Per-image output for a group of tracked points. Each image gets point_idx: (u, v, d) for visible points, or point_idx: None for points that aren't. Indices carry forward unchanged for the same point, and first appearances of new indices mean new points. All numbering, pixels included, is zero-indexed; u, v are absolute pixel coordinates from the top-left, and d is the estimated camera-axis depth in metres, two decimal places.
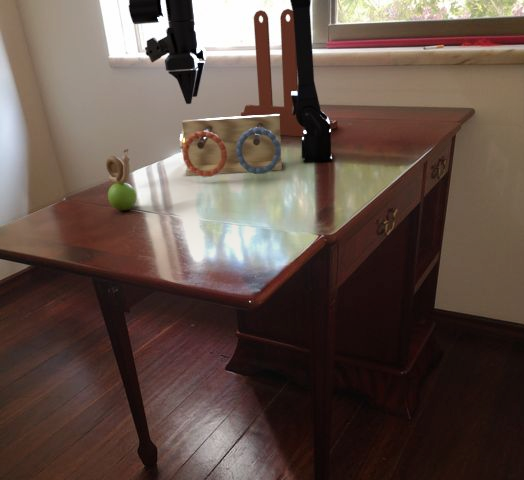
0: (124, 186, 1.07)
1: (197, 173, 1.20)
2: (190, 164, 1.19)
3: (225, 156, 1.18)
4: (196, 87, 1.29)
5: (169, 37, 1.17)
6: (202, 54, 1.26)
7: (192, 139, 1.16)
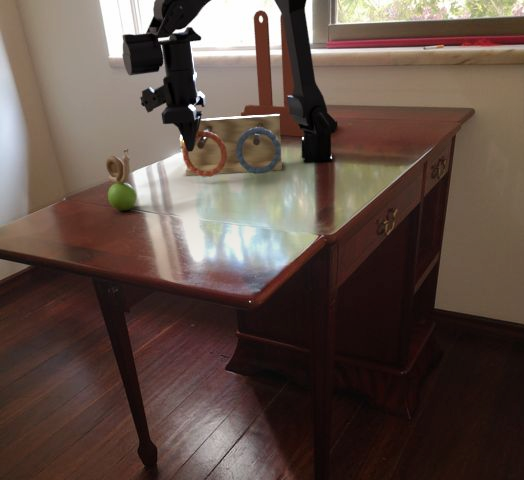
0: (124, 186, 1.07)
1: (197, 173, 1.20)
2: (190, 164, 1.19)
3: (225, 156, 1.18)
4: None
5: (166, 86, 1.09)
6: (202, 101, 1.17)
7: None
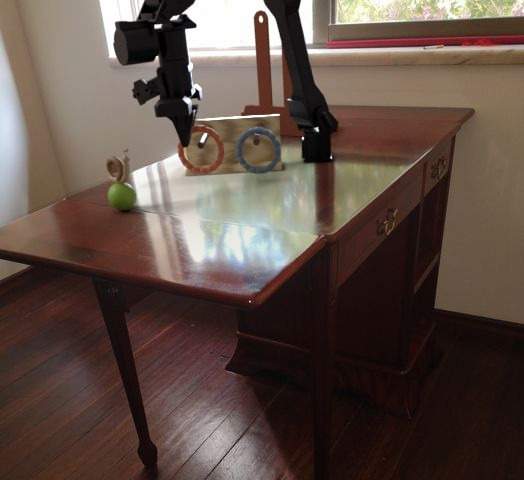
0: (124, 186, 1.07)
1: (193, 170, 1.13)
2: (185, 161, 1.12)
3: (222, 152, 1.11)
4: None
5: (159, 77, 1.02)
6: (198, 94, 1.11)
7: None
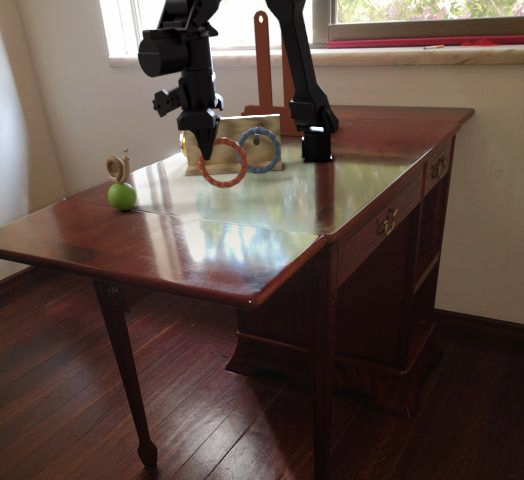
0: (124, 186, 1.07)
1: (214, 184, 1.08)
2: (207, 174, 1.07)
3: (246, 165, 1.06)
4: None
5: (181, 88, 0.97)
6: (220, 105, 1.06)
7: None
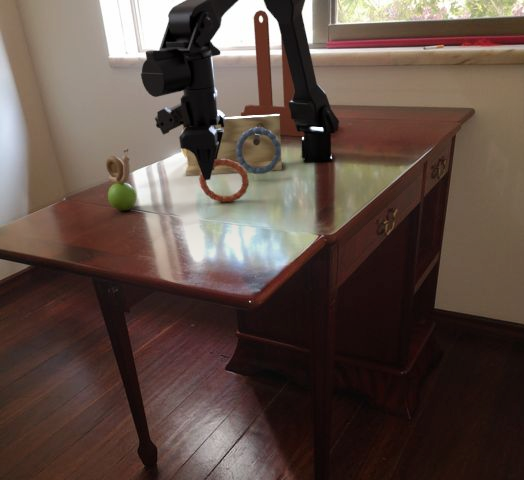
0: (124, 186, 1.07)
1: (216, 199, 1.09)
2: (208, 191, 1.08)
3: (247, 184, 1.07)
4: None
5: (183, 106, 0.99)
6: (221, 121, 1.07)
7: None
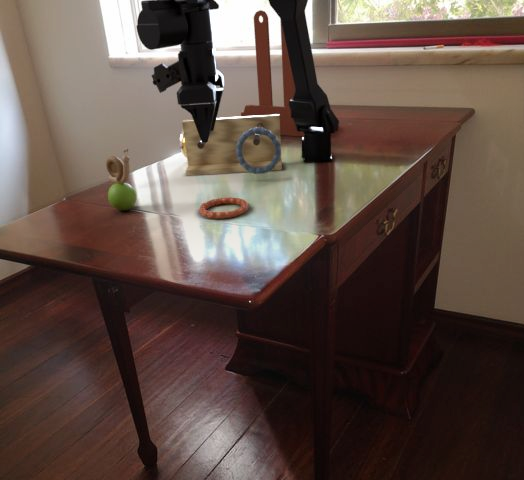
0: (124, 186, 1.07)
1: None
2: (208, 207, 1.08)
3: None
4: (213, 120, 1.07)
5: (181, 62, 0.96)
6: (220, 81, 1.04)
7: None
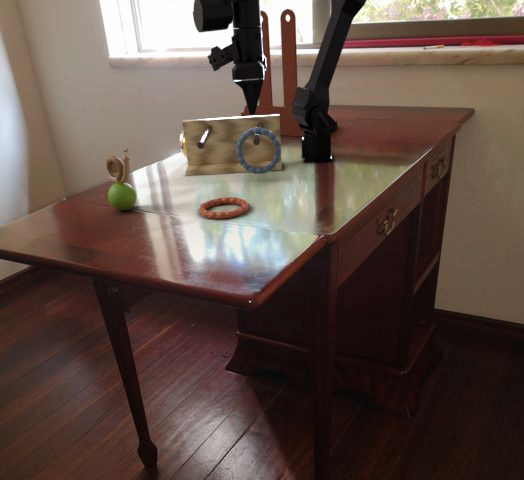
0: (124, 186, 1.07)
1: None
2: (208, 207, 1.08)
3: None
4: None
5: (234, 44, 1.11)
6: (264, 62, 1.20)
7: None
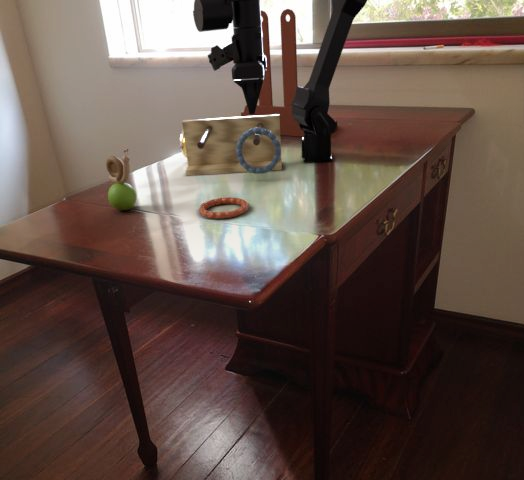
0: (124, 186, 1.07)
1: None
2: (208, 207, 1.08)
3: None
4: None
5: (234, 44, 1.11)
6: (264, 61, 1.20)
7: None
